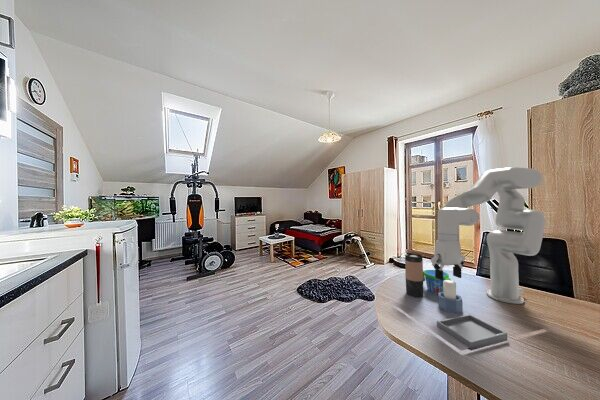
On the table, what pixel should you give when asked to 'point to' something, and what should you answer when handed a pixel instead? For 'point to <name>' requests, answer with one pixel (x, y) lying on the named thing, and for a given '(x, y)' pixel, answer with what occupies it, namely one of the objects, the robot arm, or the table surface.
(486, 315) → the table surface
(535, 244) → the robot arm
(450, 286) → the peg
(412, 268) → the travel mug
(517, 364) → the table surface
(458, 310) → the cup
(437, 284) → the snack cup
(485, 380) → the table surface
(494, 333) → the tray
